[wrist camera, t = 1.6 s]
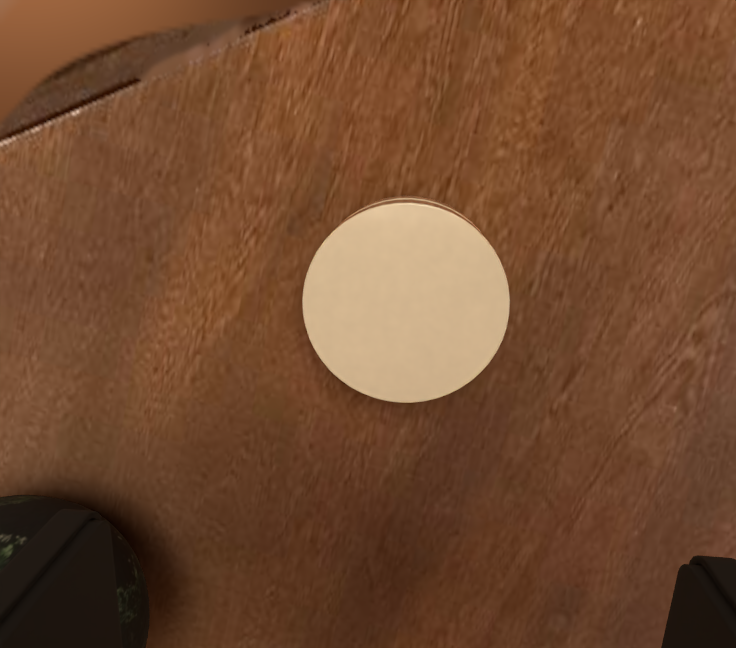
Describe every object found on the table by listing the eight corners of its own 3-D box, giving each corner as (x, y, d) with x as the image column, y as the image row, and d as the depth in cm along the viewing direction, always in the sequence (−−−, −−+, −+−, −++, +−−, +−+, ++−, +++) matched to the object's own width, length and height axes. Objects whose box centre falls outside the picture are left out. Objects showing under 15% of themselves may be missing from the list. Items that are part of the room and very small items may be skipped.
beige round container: (507, 199, 21) (522, 208, 19) (488, 377, 23) (498, 410, 21) (317, 190, 22) (303, 197, 19) (314, 365, 24) (300, 396, 21)
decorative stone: (61, 666, 29) (-109, 918, 20) (-74, 506, 27) (-338, 703, 18) (229, 590, 27) (130, 832, 18) (98, 411, 25) (-96, 576, 16)
